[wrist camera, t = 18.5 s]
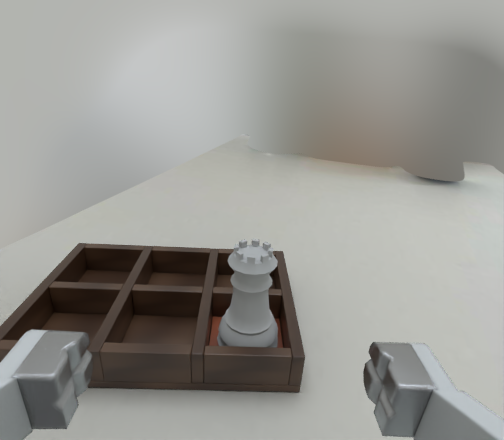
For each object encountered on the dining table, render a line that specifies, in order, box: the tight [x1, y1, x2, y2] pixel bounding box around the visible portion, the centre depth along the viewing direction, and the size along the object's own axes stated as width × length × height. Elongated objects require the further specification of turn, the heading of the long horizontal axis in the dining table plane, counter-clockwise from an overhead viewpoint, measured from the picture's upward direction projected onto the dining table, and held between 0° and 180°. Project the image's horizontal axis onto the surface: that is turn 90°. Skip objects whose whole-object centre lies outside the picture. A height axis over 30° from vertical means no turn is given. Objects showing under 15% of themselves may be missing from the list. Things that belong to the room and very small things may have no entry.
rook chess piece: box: [217, 239, 278, 348], centre depth 23 cm, size 4×4×8 cm
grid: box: [0, 243, 305, 392], centre depth 27 cm, size 20×13×3 cm
